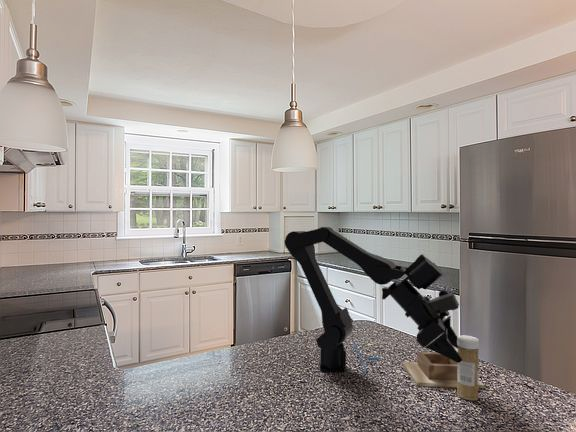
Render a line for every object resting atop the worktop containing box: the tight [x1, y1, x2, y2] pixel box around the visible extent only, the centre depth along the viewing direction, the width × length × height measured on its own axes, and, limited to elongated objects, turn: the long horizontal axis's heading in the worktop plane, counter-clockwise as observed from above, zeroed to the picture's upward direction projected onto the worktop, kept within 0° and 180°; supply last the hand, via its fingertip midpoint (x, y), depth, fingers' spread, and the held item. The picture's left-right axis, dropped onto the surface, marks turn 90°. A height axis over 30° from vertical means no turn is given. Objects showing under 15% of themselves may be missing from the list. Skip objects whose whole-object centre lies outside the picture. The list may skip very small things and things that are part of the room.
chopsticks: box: [352, 339, 380, 374], centre depth 106 cm, size 1×25×5 cm
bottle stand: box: [402, 351, 485, 389], centre depth 94 cm, size 16×13×4 cm
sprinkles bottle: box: [456, 334, 480, 402], centre depth 83 cm, size 5×5×14 cm
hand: (461, 354), depth 84 cm, fingers open, 9 cm apart
